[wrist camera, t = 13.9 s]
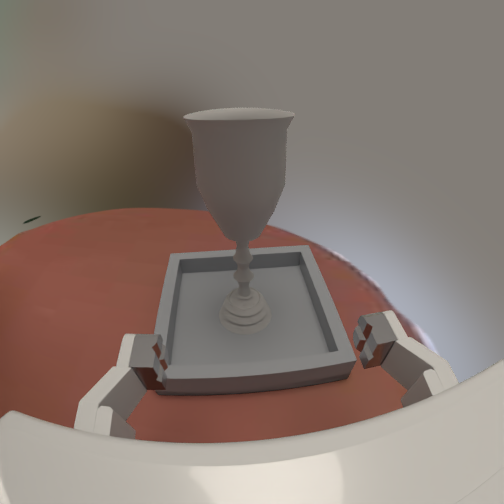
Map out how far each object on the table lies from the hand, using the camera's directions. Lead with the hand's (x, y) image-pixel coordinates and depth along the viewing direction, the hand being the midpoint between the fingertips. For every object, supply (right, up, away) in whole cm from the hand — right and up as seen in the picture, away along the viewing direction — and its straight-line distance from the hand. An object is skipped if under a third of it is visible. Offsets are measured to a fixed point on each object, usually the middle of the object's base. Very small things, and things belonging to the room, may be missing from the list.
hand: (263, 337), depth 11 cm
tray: (-1, -3, +16) cm, 17 cm away
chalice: (-1, -3, +16) cm, 16 cm away
